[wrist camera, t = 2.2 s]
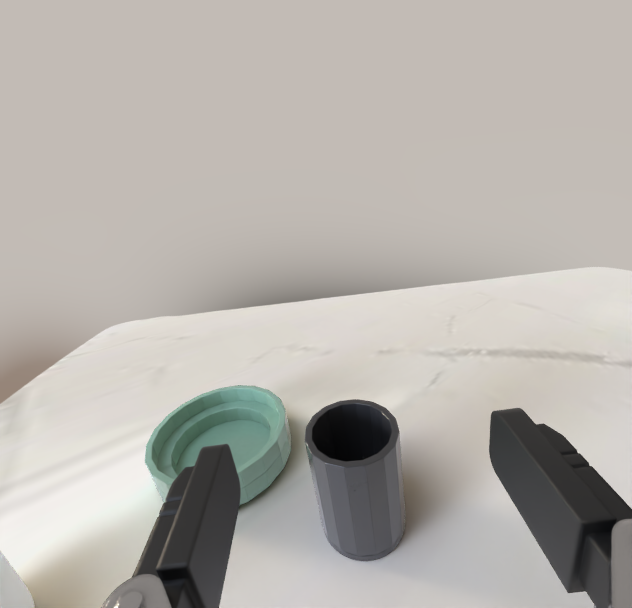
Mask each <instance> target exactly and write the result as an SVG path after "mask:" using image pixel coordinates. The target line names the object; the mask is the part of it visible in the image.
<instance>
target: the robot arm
mask: <svg viewBox="0 0 632 608" xmlns="http://www.w3.org/2000/svg"><path fill="white" fill-rule="evenodd" d="M489 453H490V459H491V463H492V466H493V468H494V470H495V472H496V474H497V476H498V478H499V479H500V481H501V483H502V484H503V486H504V487H505V489H506V491H507V492H508V494H509V496H510V497H511V499H512V501H513V502H514V504H515V506H516V507H517V509H518V511H519V512H520V514H521V516H522V517H523V519H524V521H525V522H526V524H527V526H528V527H529V529H530V531H531V532H532V534H533V536H534V537H535V539H536V541H537V542H538V544H539V546H540V547H541V549H542V550H543V552H544V554H545V555H546V557H547V559H548V560H549V562H550V564H551V565H552V567H553V569H554V570H555V572H556V574H557V575H558V577H559V579H560V580H561V582H562V584H563V585H564V587H565V589H566V590H567V592H568V593H574V592H583V591H586V592H587V594H588V595H589V597H590V598H591V600H592V601H593V603H594V604H595V605H594V608H632V509H631V508H630V507H629V506H628V505H627V504H626V503H625V501H624V500H623V499H622V498H621V497H620V496H619V495H618V494H617V493H616V492H615V491H614V490H613V489H612V488H611V486H610V485H609V484H608V483H607V482H606V481H605V480H604V479H603V478H602V477H601V476H600V475H599V474H598V473H597V471H596V470H595V469H594V468H593V467H592V466H589V463H588V462H587V461H586V460H585V459H584V458H583V456H582V455H581V454H580V453H579V454H578V453H577V450H576V449H575V448H574V447H573V446H572V445H571V444H570V442H569V441H568V440H567V439H566V438H565V437H564V436H563V435H561V434H560V433H558V432H557V431H555V430H553V429H552V428H550V427H548V426H547V425H545V424H537V425H536V424H535V423H534V422H533V421H532V420H531V419H530V417H529V416H528V415H527V414H526V413H525V412H524V411H523V410H522V409H520V408H515V409H507V410H499V411H493V412H492V414H491V425H490V445H489ZM240 497H241V488H240V480H239V477H238V473H237V470H236V466H235V463H234V460H233V456H232V453H231V449H230V447H229V445H228V444H221V445H213V446H205V447H202V448H201V450H200V452H199V455H198V458H197V460H196V463H195V466H191V467H185V468H184V469H183V470H182V472H181V473H180V474H179V475H178V476H177V478H176V479H175V480H174V481H173V482H172V485H171V487H170V489H169V492H168V494H167V496H166V499H165V502H164V503H163V506H162V508H161V510H160V513H159V514H160V515H159V517H158V518H157V520H156V522H155V525H154V527H153V529H152V532H151V534H150V536H149V539H148V541H147V543H146V546H145V548H144V551H143V553H142V555H141V558H140V560H139V562H138V565H137V567H136V569H135V572H134V574H133V576H132V578H131V579H129V580H127V581H126V582H124V583H123V584H121V585H120V586H119V587H118V588H117V589H116V590H114V591H113V592H112V594H111V595H110V596H109V597H108V598H107V599H106V601H105V602H104V604H103V605H102V607H101V608H219V604H220V599H221V594H222V589H223V584H224V579H225V574H226V569H227V564H228V559H229V555H230V550H231V545H232V540H233V535H234V530H235V525H236V520H237V515H238V510H239V505H240Z"/></svg>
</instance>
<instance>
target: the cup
mask: <svg viewBox="0 0 632 608" xmlns="http://www.w3.org/2000/svg"><path fill="white" fill-rule="evenodd" d="M305 444H306V448H307V453H308V458H309V463H310V468H311V473H312V478H313V483H314V488H315V492H316V497H317V502H318V507H319V512H320V517H321V522H322V526H323V528H324V532H325V535H326V537H327V539H328V541H329V542H330V544H331V545H332V546H333V547H334V548H335V549H336V550H337V551H338V552H339V553H341V554H342V555H344V556H346V557H348V558H350V559H354V560H359V561H370V560H375V559H379V558H381V557H384V556H385V555H387V554H389V553H390V552H391V551H392V550H394V549H395V547H396V546H397V545H398V544H399V542H400V541H401V538H402V536H403V533H404V530H405V518H406V517H405V502H404V488H403V474H402V460H401V447H400V433H399V428H398V424H397V421H396V418H395V417H394V416H393V415H392V414H391V413H390V412H389V411H388V410H387V409H386V408H384V407H382V406H380V405H378V404H376V403H374V402H371V401H364V400H356V399H355V400H345V401H339V402H336V403H334V404H331V405H328V406H326V407H324V408H323V409H321V410H320V411H319V412H318V413H316V414H315V415H314V416H313V417H312V418H311V420H310V422H309V423H308V425H307V427H306V432H305Z"/></svg>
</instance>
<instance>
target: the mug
mask: <svg viewBox="0 0 632 608" xmlns="http://www.w3.org/2000/svg"><path fill="white" fill-rule="evenodd" d="M0 608H35V606H34V601H33V597H32V595H31V593H30V591H29V589H28V588H27V586H26V585H25V583H24V582H23V581H22V579H21V578H20V577H19V575H18V574H17V573H16V571H15V570H14V569H13V567H12V566H11V565H10V563H9V562H8V560H7V559H6V558H5V556H4V555H3V554H2V552H1V551H0Z"/></svg>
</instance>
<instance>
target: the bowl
mask: <svg viewBox="0 0 632 608" xmlns="http://www.w3.org/2000/svg"><path fill="white" fill-rule="evenodd" d="M221 444H228V445H229V447H230V449H231V453H232V456H233V460H234V463H235V466H236V470H237V473H238V477H239V480H240V488H241V497H240V505H242V504H244V503H246V502H248V501H250V500H252V499H253V498H254V497H256V496H257V495H258V494H260V493H261V492H262V491H264V490H265V489H266V488H268V487H269V485H271V483H272V482H273V481H274V480H275V478H276V477H277V476H278V475H279V474H280V472H281V471H282V470H283V468H284V467H285V464H286V462H287V459H288V457H289V454H290V452H291V433H290V428H289V424H288V420H287V415H286V411H285V408H284V406H283V404H282V402H281V400H280V398H279V397H277V396H276V395H275V394H273V393H272V392H271V391H269V390H266V389H263V388H260V387H256V386H243V385H238V386H231V387H225V388H219V389H216V390H213V391H210V392H207V393H204V394H201V395H199V396H197V397H195V398H193V399H191V400H190V401H188V402H186V403H184V404H182V405H181V406H180V407H178V408H177V409H176V410H174V411H173V412H172V413H170V414H169V415H168V416H166V418H165V419H164V420H163V421H162V422H161V423H160V424H159V425H158V426H157V428H156V429H155V430H154V431H153V433H152V435H151V437H150V439H149V441H148V443H147V445H146V454H145V463H146V466H147V468H148V470H149V472H150V475H151V477H152V479H153V481H154V484H155V486H156V488H157V490H158V492H159V494H160V496H161V498H162V500H163V502H165V499H166V496H167V494H168V492H169V489H170V487H171V485H172V482H173V481H174V480H175V479H176V478H177V476H178V475H179V474H180V473H181V472H182V470H183V469H184V468H185V467H191V466H195V463H196V460H197V458H198V455H199V452H200V450H201V448H202V447H205V446H213V445H221Z"/></svg>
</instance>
